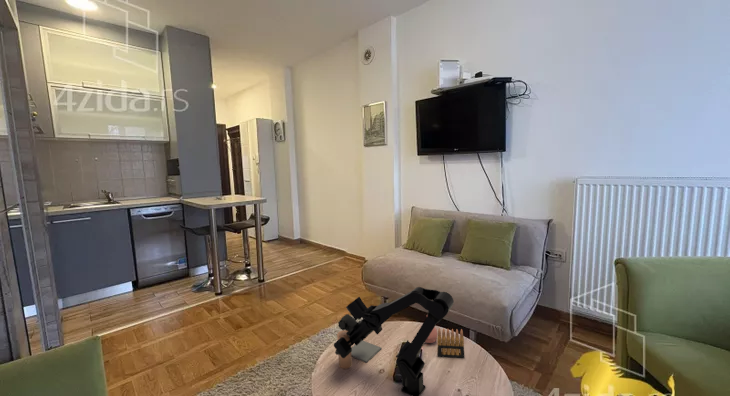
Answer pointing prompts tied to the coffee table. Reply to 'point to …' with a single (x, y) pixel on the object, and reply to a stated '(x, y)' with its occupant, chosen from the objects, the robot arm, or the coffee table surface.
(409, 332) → the coffee table surface
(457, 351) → the ammunition clip
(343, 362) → the tan domed cylinder
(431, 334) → the pink bottle vase
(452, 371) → the coffee table surface
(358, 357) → the slate mat
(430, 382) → the coffee table surface
